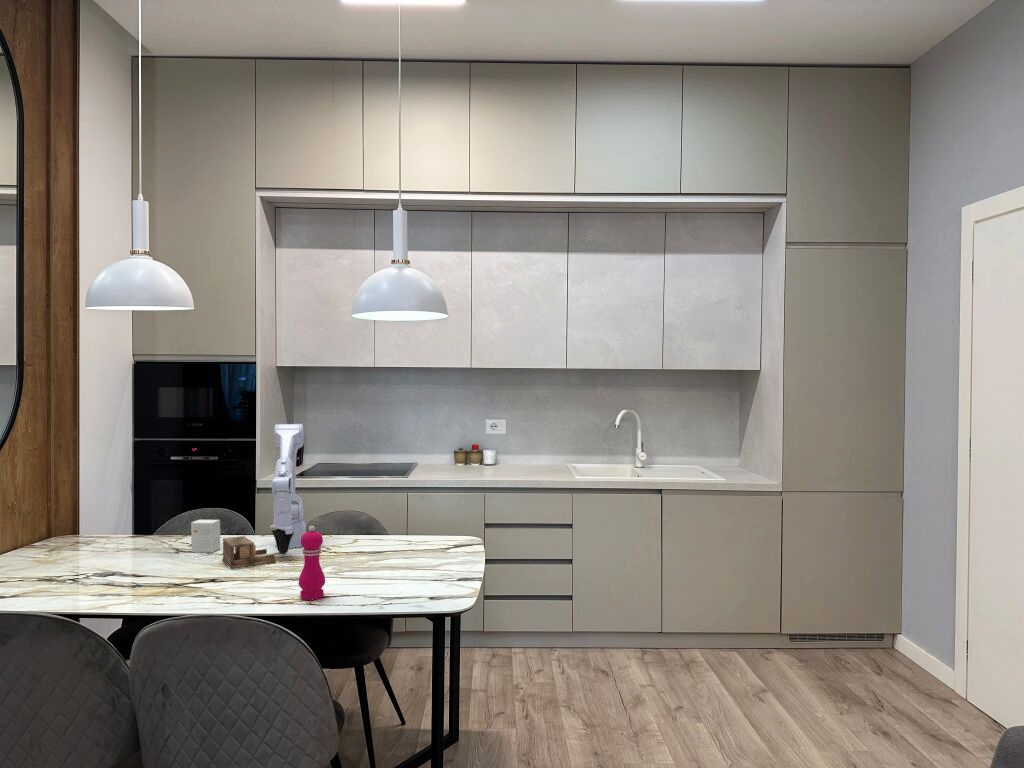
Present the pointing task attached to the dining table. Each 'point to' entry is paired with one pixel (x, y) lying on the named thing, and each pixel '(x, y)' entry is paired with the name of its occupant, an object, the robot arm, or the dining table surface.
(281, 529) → the robot arm
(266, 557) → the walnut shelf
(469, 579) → the dining table surface
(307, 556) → the pepper mill
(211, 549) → the small box
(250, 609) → the dining table surface
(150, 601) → the dining table surface
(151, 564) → the dining table surface
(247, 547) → the tan piece
